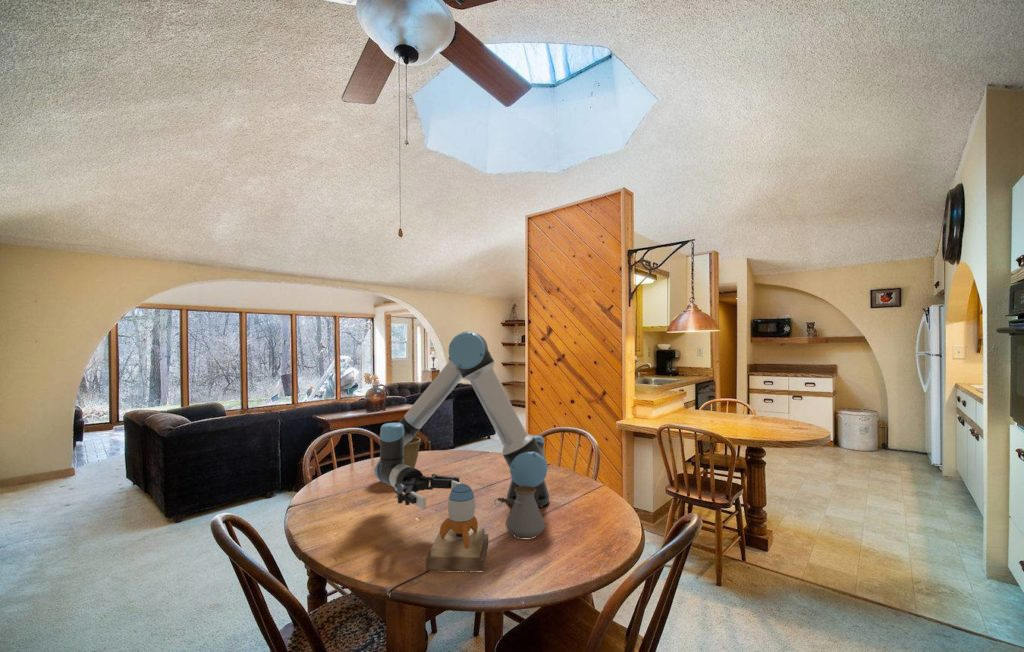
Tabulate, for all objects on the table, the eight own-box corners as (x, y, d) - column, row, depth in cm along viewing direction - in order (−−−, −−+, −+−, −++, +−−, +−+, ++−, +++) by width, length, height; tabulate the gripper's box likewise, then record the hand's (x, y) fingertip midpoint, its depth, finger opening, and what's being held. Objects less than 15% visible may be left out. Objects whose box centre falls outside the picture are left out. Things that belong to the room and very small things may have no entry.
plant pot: (377, 483, 169) (377, 443, 170) (393, 472, 184) (393, 435, 185) (412, 484, 167) (412, 444, 168) (425, 473, 181) (425, 436, 182)
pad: (488, 545, 116) (488, 526, 116) (482, 572, 102) (482, 551, 102) (438, 544, 116) (438, 526, 117) (426, 571, 102) (426, 550, 103)
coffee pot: (518, 522, 131) (517, 473, 131) (551, 530, 125) (550, 479, 125) (479, 551, 112) (479, 495, 113) (516, 562, 106) (516, 502, 107)
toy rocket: (476, 553, 103) (463, 495, 102) (436, 556, 105) (423, 500, 104) (486, 529, 113) (474, 476, 112) (449, 532, 115) (437, 481, 114)
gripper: (440, 482, 138) (481, 498, 122) (368, 501, 121) (404, 524, 105) (440, 459, 138) (481, 473, 123) (368, 475, 121) (405, 494, 106)
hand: (446, 496), depth 114 cm, fingers open, 13 cm apart
